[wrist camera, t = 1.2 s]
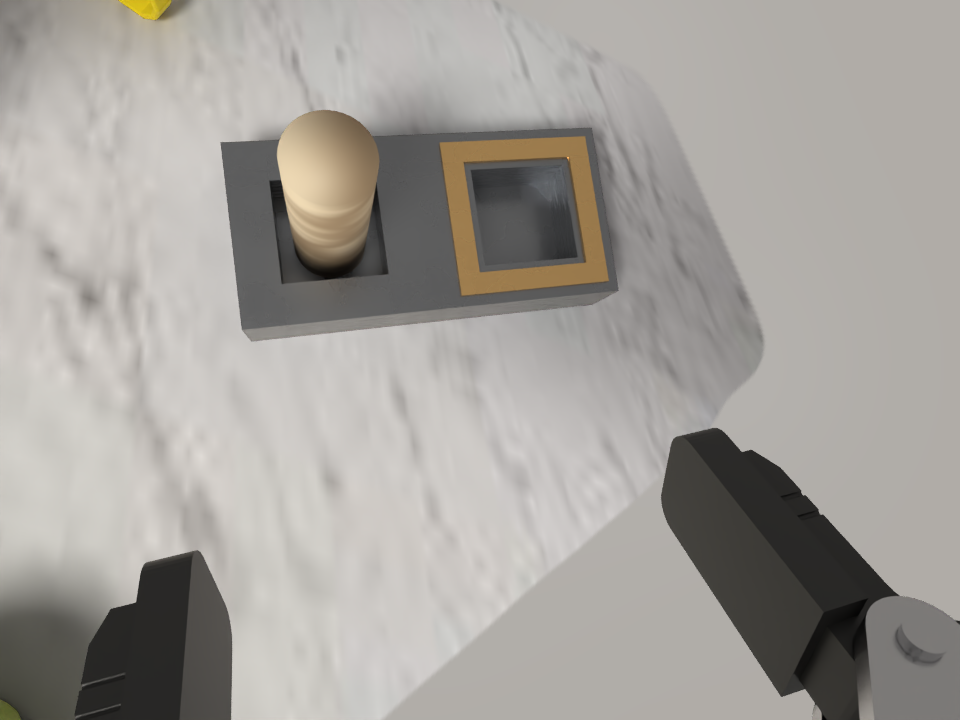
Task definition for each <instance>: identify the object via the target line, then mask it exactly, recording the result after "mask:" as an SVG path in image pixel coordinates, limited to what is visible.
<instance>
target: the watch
mask: <svg viewBox="0 0 960 720" xmlns="http://www.w3.org/2000/svg"><path fill="white" fill-rule="evenodd" d="M118 1H120V2H121V3H123V4H124V5H125V6H127V7H128V8H130V9H131V10H133V11H134V12H135V13H137V14H138V15H140V16H141V17H142V18H144V19H152V20H156V19H158V18H159V17H160V16H161V14H162V13H163V12H164V11H165V10H166V9H167V8H168V7H169V5H170V4H171V1H172V0H118Z"/></svg>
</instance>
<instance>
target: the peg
mask: <svg viewBox="0 0 960 720" xmlns="http://www.w3.org/2000/svg"><path fill="white" fill-rule="evenodd" d="M277 161H278V166H279V171H280V176H281V181H282V186H283V192H284V197H285V202H286V207H287V212H288V217H289V223H290V228H291V233H292V238H293V243H294V248H295V253H296V256H297V258H298V260H299V261H300V263H301V264H302V265H303V266H304V267H305V268H306V269H307V270H308V271H310V272H311V273H313V274H315V275H317V276H320V277H325V278H337V277H341V276H344V275H346V274H348V273H350V272H351V271H353V270H354V269H355V268H356V267H357V266H358V265H359V263H360V262H361V260H362V258H363V255H364V250H365V245H366V239H367V233H368V227H369V222H370V216H371V210H372V204H373V199H374V193H375V187H376V182H377V176H378V170H379V153H378V149H377V146H376V143H375V141H374V139H373V137H372V136H371V134H370V133H369V131H368V130H367V129H366V128H365V127H364V126H363V125H362V124H361V123H360V122H358V121H357V120H356V119H354V118H352V117H350V116H348V115H346V114H344V113H340V112H337V111H331V110H319V111H313V112H309V113H306V114H304V115H302V116H300V117H298V118H297V119H295V120H294V121H292V122H291V123H290V124H289V125H288V126H287V128H286V129H285V130H284V132H283V134H282V135H281V138H280V140H279V144H278V149H277Z"/></svg>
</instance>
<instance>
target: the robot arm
mask: <svg viewBox="0 0 960 720" xmlns="http://www.w3.org/2000/svg"><path fill="white" fill-rule="evenodd" d="M661 500H662V508H663V512H664V515H665V518H666V520H667V523H668V525H669V526H670V528H671V530H672V531H673V533H674V534H675V536H676V537H677V539H678V540H679V542H680V543H681V545H682V546H683V548H684V550H685V551H686V553H687V554H688V556H689V557H690V559H691V560H692V562H693V563H694V565H695V566H696V568H697V569H698V571H699V572H700V574H701V575H702V577H703V579H704V580H705V582H706V583H707V584H708V586H709V588H710V589H711V591H712V592H713V594H714V595H715V597H716V598H717V600H718V601H719V603H720V604H721V606H722V607H723V609H724V610H725V612H726V614H727V615H728V617H729V618H730V619H731V621H732V623H733V624H734V626H735V627H736V629H737V630H738V632H739V633H740V635H741V636H742V638H743V639H744V641H745V642H746V644H747V645H748V647H749V649H750V650H751V652H752V653H753V655H754V656H755V658H756V659H757V661H758V662H759V664H760V665H761V667H762V668H763V670H764V671H765V673H766V674H767V676H768V677H769V679H770V680H771V682H772V684H773V685H774V687H775V688H776V690H777V691H778V693H779V694H780V696H781V697H783V696H786V695H788V694H792V693H794V692H797V691H800V690H803V689H806V691H807V692H808V693H809V695H810V696H811V698H812V699H813V701H814V702H815V705H814V709H813V716H812V719H813V720H960V621H955V620H954V619H953V618H951V617H950V616H949V615H947V614H946V613H944V612H943V611H941V610H939V609H938V608H936V607H934V606H933V605H930V604H928V603H926V602H924V601H920V600H917V599H914V598H909V597H903V596H899V595H898V594H897V593H895V592H894V591H893V590H892V589H891V588H890V587H889V586H888V585H887V584H886V583H885V582H884V581H883V580H882V579H881V577H880V576H879V575H878V574H877V573H876V572H875V571H874V570H873V569H872V568H871V567H870V565H869V564H868V563H867V562H866V561H865V560H864V559H863V558H862V557H861V556H860V554H859V553H858V552H857V551H856V550H855V549H854V548H853V547H852V546H851V545H850V543H849V542H848V541H847V540H846V539H845V538H844V537H843V536H842V535H841V534H840V533H839V532H838V531H837V529H836V528H835V527H834V526H833V525H832V524H831V523H830V522H829V520H828V519H827V518H826V517H825V516H824V515H820V514H819V511H818V508H817V507H816V506H815V505H814V504H813V503H812V502H811V501H810V500H809V499H808V497H807V496H805V495H804V496H803V495H802V493H801V490H800V489H799V488H798V486H796V484H795V483H794V482H793V481H792V480H791V479H790V478H789V477H788V476H787V474H786V473H785V472H784V471H783V470H782V469H781V468H780V467H778V466H777V465H775V464H774V463H772V462H770V461H769V460H767V459H766V458H764V457H762V456H761V455H759V454H757V453H756V452H754V451H753V450H749V451H745V452H741V451H740V450H739V448H738V447H737V446H736V445H735V444H734V443H733V442H732V440H731V439H730V438H729V437H728V436H727V435H726V434H725V433H724V432H723V431H722V430H720V429H718V428H711V429H707V430H703V431H699V432H694V433H690V434H686V435H682V436H678V437H676V438H674V439H673V441H672V444H671V448H670V453H669V458H668V463H667V468H666V473H665V478H664V483H663V488H662V494H661ZM81 684H82V691H79V696H78V701H77V706H76V711H75V717H76V720H231V689H232V633H231V625H230V620H229V615H228V611H227V608H226V605H225V603H224V601H223V599H222V596H221V594H220V592H219V590H218V588H217V586H216V583H215V581H214V579H213V577H212V575H211V573H210V570H209V568H208V566H207V564H206V562H205V560H204V557H203V556H202V554H201V553H200V552H199V551H198V550H196V551H192V552H188V553H184V554H180V555H175V556H171V557H167V558H163V559H159V560H155V561H150V562H147V563H145V564H144V566H143V568H142V571H141V575H140V581H139V588H138V594H137V601H136V603H133V604H129V605H125V606H121V607H117V608H113V609H111V610H110V611H109V613H108V615H107V616H106V618H105V620H104V621H103V623H102V625H101V626H100V628H99V630H98V631H97V633H96V635H95V636H94V638H93V639H92V641H91V643H90V644H89V647H88V652H87V657H86V662H85V667H84V672H83V677H82V682H81Z"/></svg>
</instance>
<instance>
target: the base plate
mask: <svg viewBox="0 0 960 720" xmlns="http://www.w3.org/2000/svg"><path fill="white" fill-rule="evenodd" d="M372 137H373V139H374V141H375V143H376V146H377V149H378V153H379V170H378V176H377V182H376V187H375V193H374V199H373V204H372V210H371V216H370V222H369V227H368V233H367V239H366V245H365V250H364V255H363V258H362V260H361V262H360V263H359V265H358V266H357V267H356V268H355V269H354V270H353V271H351V272H350V273H348V274H346V275H344V276H341V277H337V278H325V277H320V276H317V275H315V274H313V273H311V272H310V271H308V270H307V269H306V268H305V267H304V266H303V265H302V264H301V263H300V261H299V260H298V258H297V256H296V253H295V248H294V243H293V238H292V233H291V228H290V223H289V217H288V212H287V207H286V202H285V197H284V192H283V186H282V181H281V176H280V171H279V166H278V161H277V149H278V144H279V140H271V141H245V142H221V150H222V159H223V168H224V176H225V185H226V194H227V203H228V212H229V220H230V229H231V238H232V247H233V255H234V264H235V273H236V282H237V291H238V299H239V308H240V317H241V326H242V331H243V332H244V333H245V334H246V335H247V337H248V338H249V339H250V340H251V341H259V340H269V339H278V338H287V337H296V336H306V335H315V334H324V333H333V332H343V331H352V330H361V329H370V328H380V327H389V326H398V325H407V324H417V323H426V322H435V321H444V320H453V319H463V318H472V317H481V316H490V315H500V314H509V313H518V312H527V311H537V310H546V309H555V308H564V307H574V306H583V305H592V304H594V303H596V302H598V301H600V300H602V299H604V298H606V297H608V296H610V295H611V294H613V293H615V292H617V291H619V290H618V284H617V278H616V272H615V266H614V260H613V254H612V248H611V242H610V236H609V230H608V224H607V218H606V212H605V206H604V200H603V194H602V188H601V182H600V176H599V170H598V164H597V158H596V152H595V146H594V140H593V134H592V128H573V129H548V130H523V131H498V132H472V133H447V134H422V135H397V136H372Z"/></svg>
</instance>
